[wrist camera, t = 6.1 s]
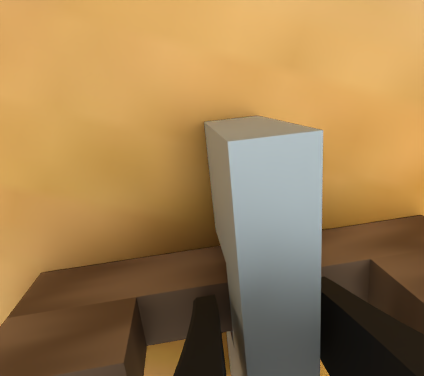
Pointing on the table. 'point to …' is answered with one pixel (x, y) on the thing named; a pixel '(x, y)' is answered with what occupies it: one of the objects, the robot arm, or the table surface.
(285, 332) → the pale blue-gray block
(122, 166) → the table surface
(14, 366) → the walnut u-shaped block
